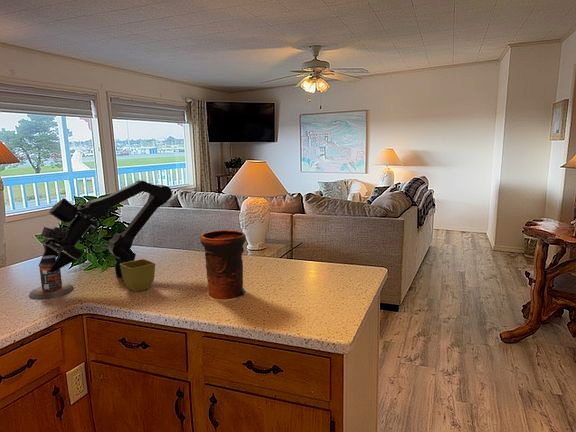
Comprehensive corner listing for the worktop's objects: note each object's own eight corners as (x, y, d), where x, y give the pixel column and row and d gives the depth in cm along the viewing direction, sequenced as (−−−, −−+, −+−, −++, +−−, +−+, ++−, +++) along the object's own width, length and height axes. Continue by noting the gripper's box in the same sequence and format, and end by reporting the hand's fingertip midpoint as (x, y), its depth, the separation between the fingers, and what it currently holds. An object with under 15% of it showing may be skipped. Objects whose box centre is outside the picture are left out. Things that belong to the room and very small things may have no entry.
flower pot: (146, 282, 145) (144, 258, 143) (157, 288, 139) (155, 262, 137) (121, 289, 139) (119, 263, 137) (132, 295, 133) (130, 268, 131)
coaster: (74, 282, 146) (74, 280, 146) (72, 294, 134) (72, 292, 134) (32, 288, 141) (31, 286, 140) (26, 301, 129) (26, 299, 129)
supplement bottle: (49, 293, 133) (45, 260, 131) (38, 290, 136) (33, 258, 134) (66, 287, 139) (62, 255, 136) (55, 285, 141) (51, 253, 139)
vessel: (198, 289, 137) (196, 231, 133) (239, 283, 142) (238, 227, 139) (207, 304, 124) (205, 240, 120) (252, 298, 129) (251, 236, 126)
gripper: (45, 214, 142) (13, 252, 136) (67, 220, 130) (34, 261, 124) (71, 232, 149) (42, 268, 143) (95, 239, 137) (64, 279, 131)
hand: (45, 269), depth 135 cm, fingers open, 9 cm apart
